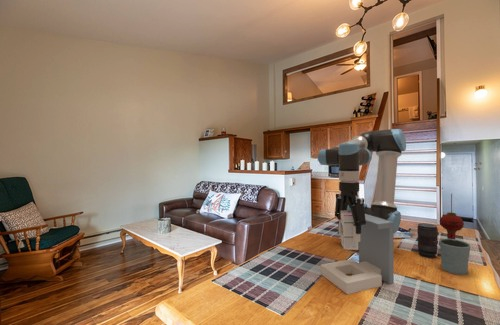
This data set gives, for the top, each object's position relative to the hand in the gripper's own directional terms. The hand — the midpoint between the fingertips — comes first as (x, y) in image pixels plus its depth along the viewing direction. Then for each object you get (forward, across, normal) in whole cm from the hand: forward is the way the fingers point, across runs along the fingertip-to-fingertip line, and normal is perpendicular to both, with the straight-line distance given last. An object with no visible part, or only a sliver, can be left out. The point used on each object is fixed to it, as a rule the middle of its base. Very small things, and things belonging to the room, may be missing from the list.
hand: (349, 238), depth 97 cm
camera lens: (+17, -6, +52) cm, 55 cm away
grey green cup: (+17, +9, +47) cm, 51 cm away
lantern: (+17, -4, +66) cm, 68 cm away
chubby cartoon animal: (+17, -47, +36) cm, 61 cm away
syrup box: (+4, 0, 0) cm, 4 cm away
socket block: (+17, 0, +3) cm, 17 cm away
